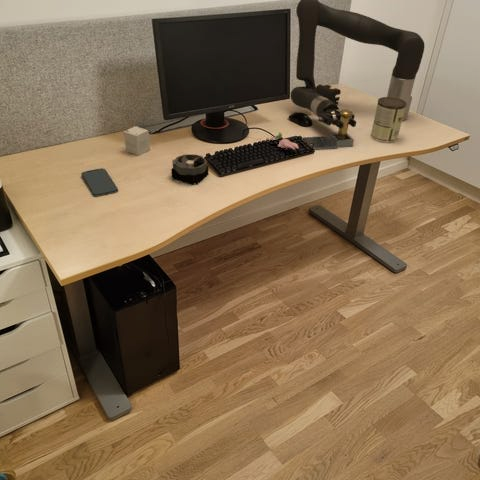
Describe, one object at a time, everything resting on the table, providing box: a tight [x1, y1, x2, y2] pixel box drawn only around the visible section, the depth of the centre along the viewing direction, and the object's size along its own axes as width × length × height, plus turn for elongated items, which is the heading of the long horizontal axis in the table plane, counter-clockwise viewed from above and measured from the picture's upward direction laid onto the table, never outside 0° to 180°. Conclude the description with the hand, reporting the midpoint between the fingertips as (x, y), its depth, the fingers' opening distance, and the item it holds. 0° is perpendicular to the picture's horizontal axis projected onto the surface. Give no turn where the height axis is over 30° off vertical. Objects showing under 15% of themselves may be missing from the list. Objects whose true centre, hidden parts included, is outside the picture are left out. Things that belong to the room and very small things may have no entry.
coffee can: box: [370, 96, 407, 144], centre depth 174 cm, size 10×10×14 cm
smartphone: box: [81, 167, 119, 198], centre depth 140 cm, size 8×2×15 cm
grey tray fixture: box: [302, 132, 355, 151], centre depth 170 cm, size 19×9×2 cm, turn 102°
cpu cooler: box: [170, 153, 209, 186], centre depth 145 cm, size 10×6×10 cm
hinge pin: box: [337, 109, 354, 140], centre depth 169 cm, size 4×4×12 cm
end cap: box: [316, 84, 341, 105], centre depth 207 cm, size 10×7×7 cm
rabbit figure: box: [265, 131, 300, 151], centre depth 165 cm, size 6×6×15 cm
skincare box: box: [123, 125, 151, 156], centre depth 158 cm, size 6×6×7 cm
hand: (348, 125), depth 166 cm, fingers open, 4 cm apart
